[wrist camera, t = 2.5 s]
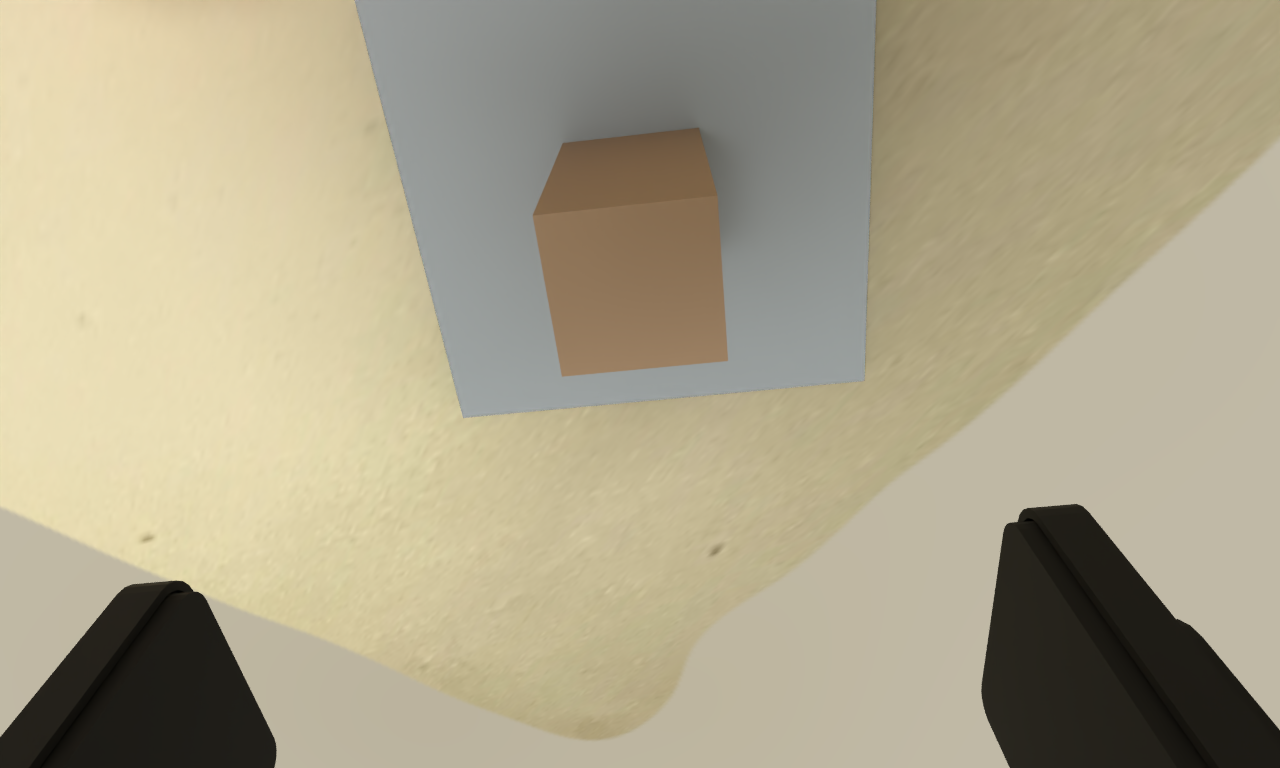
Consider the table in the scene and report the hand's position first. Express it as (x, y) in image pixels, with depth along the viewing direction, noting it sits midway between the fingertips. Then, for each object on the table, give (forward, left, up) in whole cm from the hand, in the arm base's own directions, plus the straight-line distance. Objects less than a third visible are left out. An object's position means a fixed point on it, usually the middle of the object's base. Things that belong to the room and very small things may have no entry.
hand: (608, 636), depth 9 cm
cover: (0, 0, -18) cm, 18 cm away
